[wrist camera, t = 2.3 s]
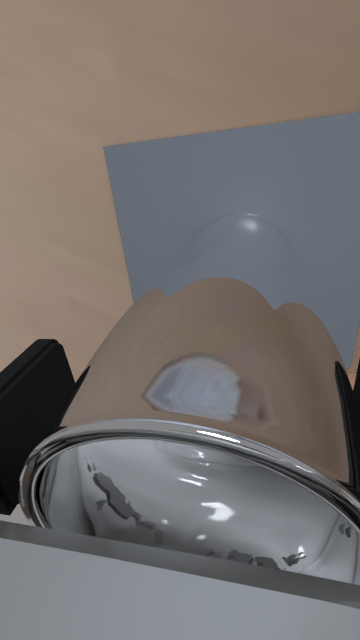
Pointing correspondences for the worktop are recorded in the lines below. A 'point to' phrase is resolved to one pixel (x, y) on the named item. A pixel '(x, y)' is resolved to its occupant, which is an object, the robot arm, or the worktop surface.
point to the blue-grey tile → (250, 204)
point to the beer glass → (212, 420)
